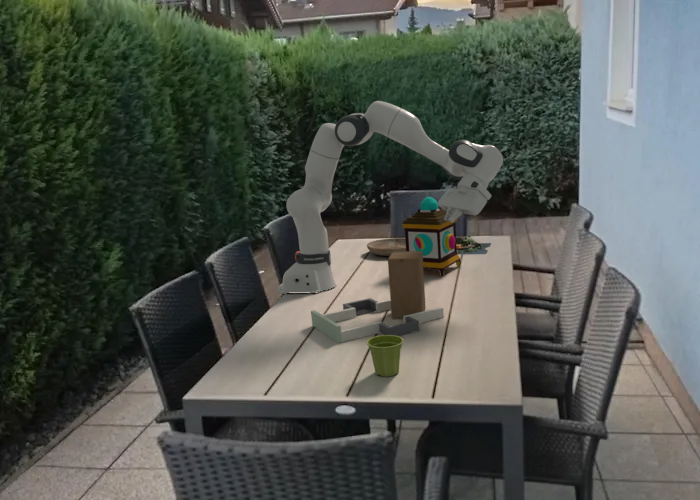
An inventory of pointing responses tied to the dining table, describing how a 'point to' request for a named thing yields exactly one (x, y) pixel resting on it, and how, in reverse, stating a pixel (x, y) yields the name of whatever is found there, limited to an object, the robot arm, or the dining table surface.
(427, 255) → the decorative lantern
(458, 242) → the plated dish
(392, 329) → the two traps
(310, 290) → the robot arm
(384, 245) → the ceramic bowl
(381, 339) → the plant pot
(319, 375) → the dining table surface
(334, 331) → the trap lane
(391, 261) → the wooden block
